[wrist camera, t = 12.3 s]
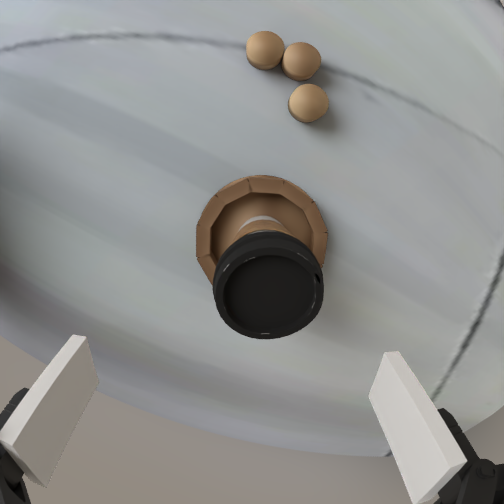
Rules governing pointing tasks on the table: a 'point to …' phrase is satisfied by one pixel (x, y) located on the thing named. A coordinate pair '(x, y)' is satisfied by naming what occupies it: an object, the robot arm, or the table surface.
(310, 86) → the bead
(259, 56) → the bead
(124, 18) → the table surface
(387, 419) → the robot arm
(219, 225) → the round tray
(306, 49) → the bead
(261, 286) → the coffee cup
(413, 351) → the table surface
